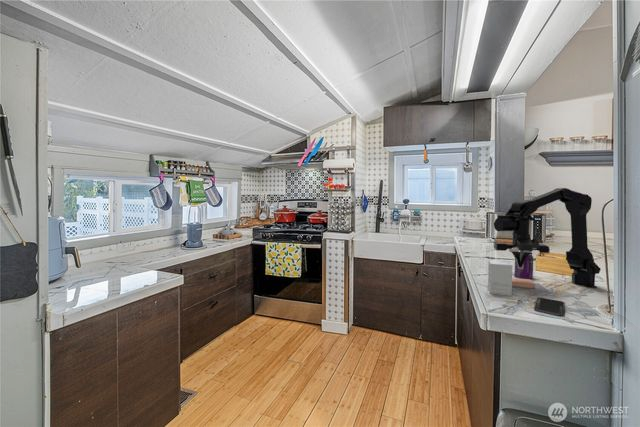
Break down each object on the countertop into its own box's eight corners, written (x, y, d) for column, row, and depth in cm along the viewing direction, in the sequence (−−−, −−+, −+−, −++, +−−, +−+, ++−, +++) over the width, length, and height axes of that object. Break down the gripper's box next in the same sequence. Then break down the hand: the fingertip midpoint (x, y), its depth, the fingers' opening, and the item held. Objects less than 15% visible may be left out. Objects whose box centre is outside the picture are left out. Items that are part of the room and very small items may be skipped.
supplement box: (508, 291, 115) (509, 261, 114) (511, 297, 108) (512, 265, 108) (487, 289, 118) (488, 259, 118) (489, 294, 112) (490, 263, 111)
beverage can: (535, 280, 130) (536, 255, 129) (518, 279, 131) (519, 254, 131) (527, 276, 137) (528, 252, 136) (511, 275, 138) (512, 251, 137)
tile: (530, 279, 122) (503, 277, 126) (535, 283, 116) (507, 281, 120) (529, 284, 122) (503, 282, 126) (535, 288, 117) (506, 286, 120)
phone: (533, 308, 95) (537, 296, 107) (533, 312, 96) (537, 299, 107) (564, 315, 90) (565, 301, 101) (564, 318, 90) (565, 304, 102)
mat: (538, 284, 124) (539, 283, 124) (550, 293, 112) (550, 292, 112) (501, 281, 128) (502, 280, 128) (509, 289, 117) (509, 288, 117)
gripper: (500, 232, 115) (499, 269, 116) (556, 234, 109) (554, 274, 110) (494, 229, 126) (493, 264, 127) (544, 231, 119) (543, 267, 120)
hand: (519, 267), depth 121 cm, fingers closed
